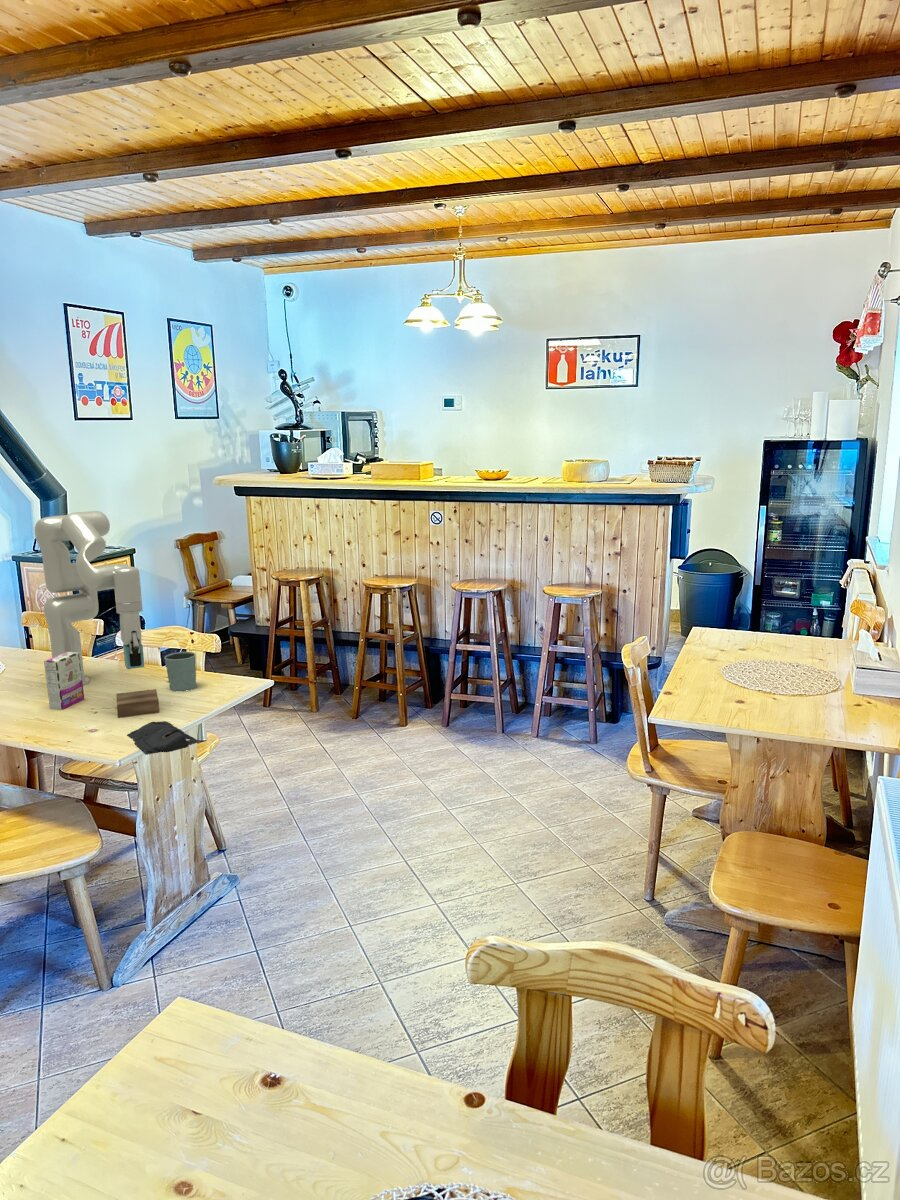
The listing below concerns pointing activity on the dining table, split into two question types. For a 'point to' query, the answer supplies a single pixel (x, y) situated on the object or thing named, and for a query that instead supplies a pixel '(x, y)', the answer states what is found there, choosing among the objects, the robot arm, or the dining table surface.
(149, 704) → the walnut block
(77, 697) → the candy bar box
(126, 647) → the teal block
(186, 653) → the grey green cup
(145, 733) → the dark slate chunk
